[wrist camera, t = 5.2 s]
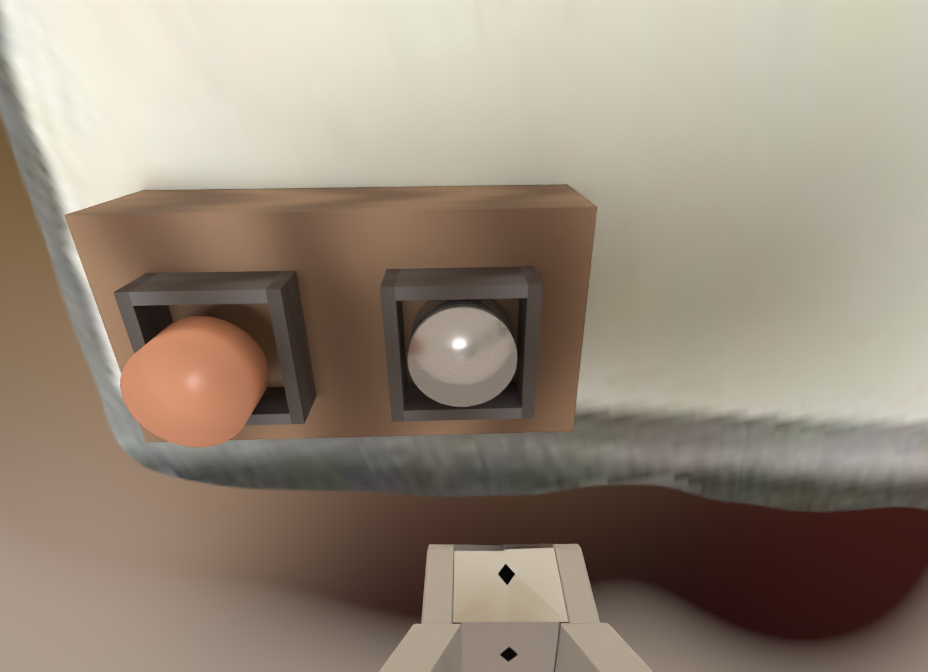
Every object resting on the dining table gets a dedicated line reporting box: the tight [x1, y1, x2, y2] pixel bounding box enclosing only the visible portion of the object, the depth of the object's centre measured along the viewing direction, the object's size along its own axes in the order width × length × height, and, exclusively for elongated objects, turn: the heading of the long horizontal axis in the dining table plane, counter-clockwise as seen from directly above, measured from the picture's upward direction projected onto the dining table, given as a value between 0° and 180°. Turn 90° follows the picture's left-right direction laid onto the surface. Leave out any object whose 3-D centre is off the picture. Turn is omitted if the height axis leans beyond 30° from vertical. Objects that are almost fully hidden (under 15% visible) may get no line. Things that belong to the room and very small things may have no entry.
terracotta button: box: [120, 316, 269, 447], centre depth 17 cm, size 4×4×2 cm
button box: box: [65, 185, 597, 442], centre depth 21 cm, size 19×10×7 cm, turn 90°
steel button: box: [408, 299, 517, 407], centre depth 19 cm, size 4×4×2 cm
